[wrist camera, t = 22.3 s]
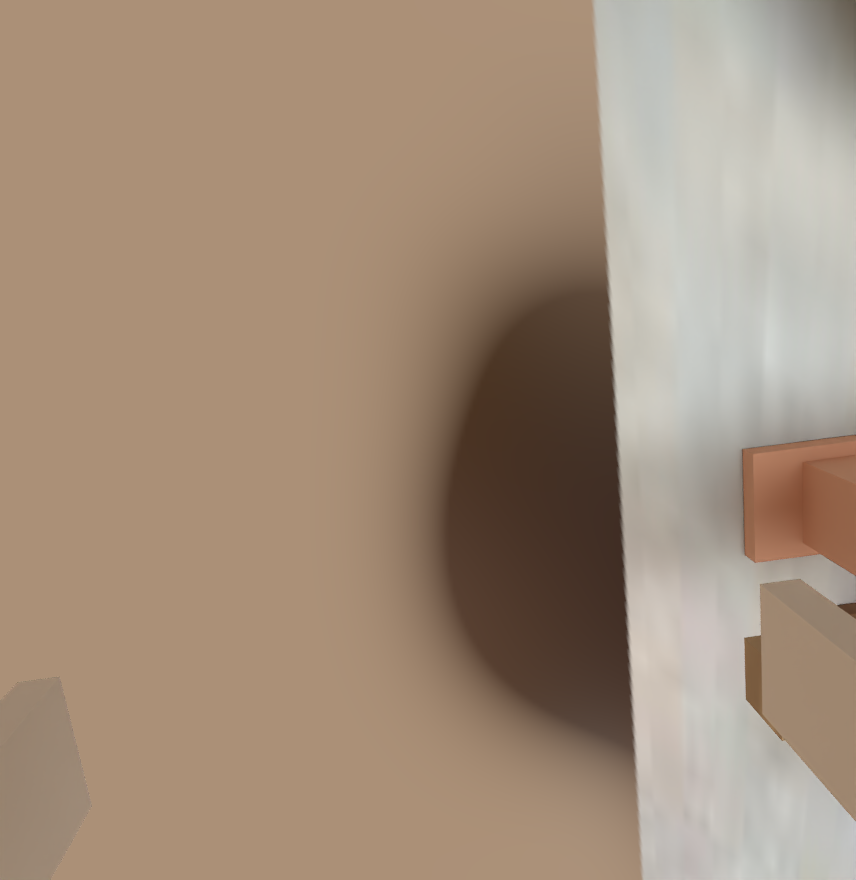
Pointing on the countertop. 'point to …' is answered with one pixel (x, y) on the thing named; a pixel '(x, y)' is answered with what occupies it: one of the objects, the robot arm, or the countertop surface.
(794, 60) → the countertop surface
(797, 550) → the terracotta stand
